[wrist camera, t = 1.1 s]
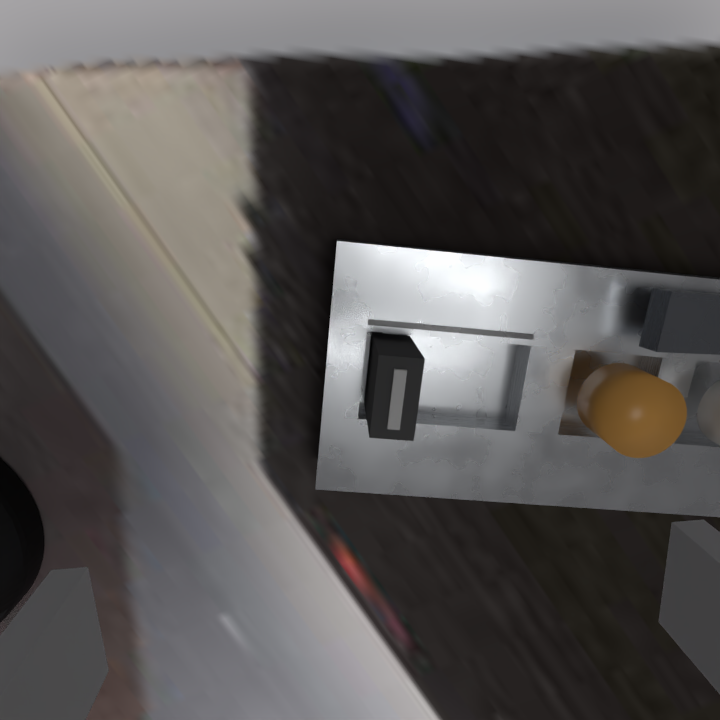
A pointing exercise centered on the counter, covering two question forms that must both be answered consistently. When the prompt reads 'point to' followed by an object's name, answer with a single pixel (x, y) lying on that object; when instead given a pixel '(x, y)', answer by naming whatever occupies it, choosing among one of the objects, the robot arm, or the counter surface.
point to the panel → (507, 381)
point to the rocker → (682, 322)
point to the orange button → (631, 410)
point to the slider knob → (393, 387)
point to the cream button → (710, 413)
